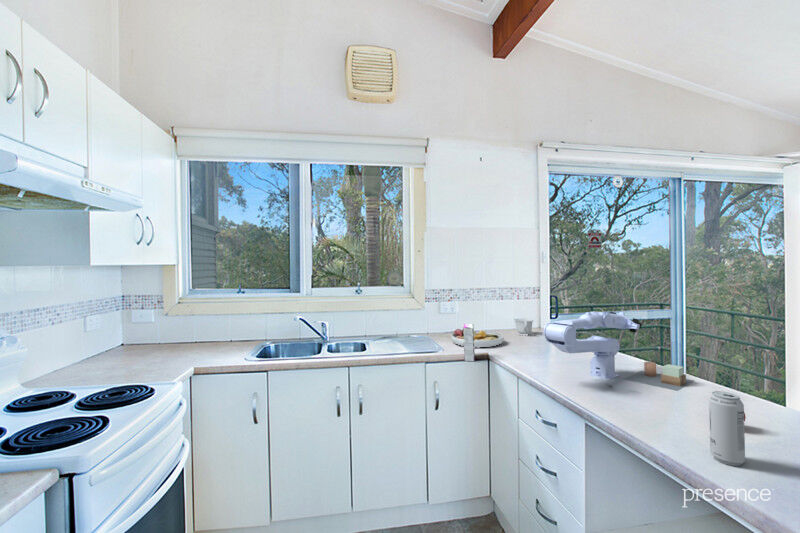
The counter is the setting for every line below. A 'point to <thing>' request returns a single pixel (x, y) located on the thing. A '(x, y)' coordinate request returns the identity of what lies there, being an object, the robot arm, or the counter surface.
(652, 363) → the terracotta cylinder
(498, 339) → the bowl
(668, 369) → the sage top block
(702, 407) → the counter surface
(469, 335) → the candy bar box
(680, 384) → the walnut base block
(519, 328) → the white planter pot
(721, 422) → the energy drink can
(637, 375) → the rubber mat
